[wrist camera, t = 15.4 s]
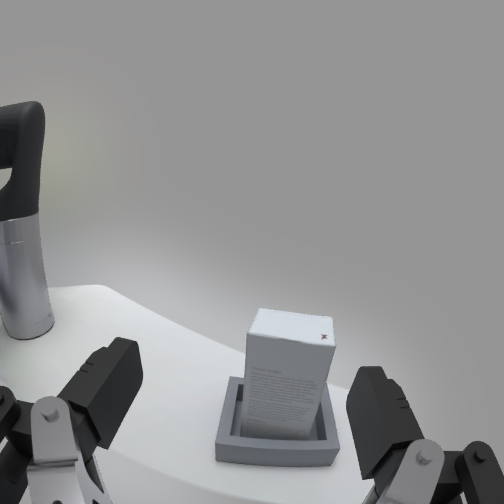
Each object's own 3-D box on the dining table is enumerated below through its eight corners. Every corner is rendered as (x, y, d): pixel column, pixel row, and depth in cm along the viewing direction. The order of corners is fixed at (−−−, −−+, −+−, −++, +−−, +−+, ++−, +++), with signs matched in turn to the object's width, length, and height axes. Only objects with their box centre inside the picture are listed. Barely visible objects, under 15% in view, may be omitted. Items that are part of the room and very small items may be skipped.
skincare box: (307, 417, 24) (335, 316, 21) (304, 449, 20) (338, 346, 17) (248, 408, 25) (258, 305, 22) (237, 438, 21) (245, 332, 18)
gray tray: (215, 460, 19) (215, 442, 18) (228, 396, 27) (229, 376, 26) (330, 465, 18) (340, 448, 17) (320, 402, 27) (326, 382, 26)
